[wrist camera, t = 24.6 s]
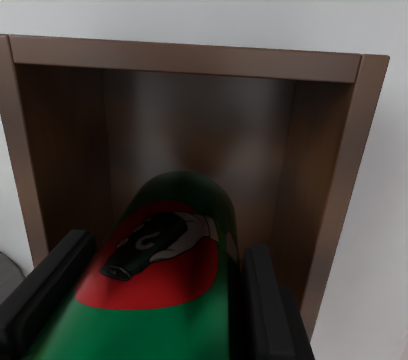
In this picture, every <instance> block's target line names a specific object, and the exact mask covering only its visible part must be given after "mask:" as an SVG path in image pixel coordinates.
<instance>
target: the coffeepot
mask: <svg viewBox="0 0 408 360" xmlns="http://www.w3.org/2000/svg"><path fill="white" fill-rule="evenodd" d="M23 280H24V276H23V275H22V273H21V272H20V270H19V268H18V267H17V266H16V265H15V264H14V263H13V262H12V261H11V260H10V259H9V258H7V257H6V256H5V255H4V254H2V253H1V252H0V305H1V304H2V303H3V302H4V300H5V299H6V298H7V297H8V296H9V295H10V294H11V293H12V292H13V291H14V290H15V289H16V288H17V287H18V286H19V285H20V284H21V283H22V281H23Z"/></svg>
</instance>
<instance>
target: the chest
mask: <svg viewBox="0 0 408 360" xmlns="http://www.w3.org/2000/svg"><path fill="white" fill-rule="evenodd" d="M389 60H390V56H388V55H374V54H357V53H338V52H320V51H302V50H284V49H266V48H248V47H230V46H212V45H194V44H176V43H157V42H139V41H121V40H103V39H85V38H67V37H49V36H31V35H13V34H11V35H9V34H0V114H1V119H2V124H3V128H4V133H5V137H6V142H7V146H8V151H9V155H10V160H11V165H12V169H13V174H14V178H15V183H16V187H17V192H18V197H19V201H20V206H21V210H22V215H23V219H24V224H25V228H26V233H27V238H28V242H29V247H30V251H31V256H32V260H33V265H34V269H35V268H36V267H37V266H38V265H39V263H40V262H41V261H42V260H43V259H44V258H45V257H46V256H47V255H48V254H49V253H50V252H51V251H52V250H53V249H54V248H55V247H56V245H57V244H58V243H59V242H60V241H61V240H62V239H63V238H64V237H65V236H66V235H67V234H68V233H69V232H70V231H71V230H73V229H76V230H89V231H90V232H91V235H94V236H95V237H96V245H97V249H98V248H99V247H100V245H101V244H102V242H103V241H104V239H105V238H106V236H107V235H108V234H109V232H110V231H111V229H112V228H113V226H114V225H115V224H116V222H117V221H118V219H119V218H120V216H121V215H122V213H123V212H124V211H125V209H126V208H127V206H128V205H129V203H130V202H131V200H132V199H133V198H134V196H135V195H136V193H137V192H138V191H139V189H140V188H141V187H142V186H143V185H144V184H145V183H146V182H147V181H149V180H150V179H152V178H153V177H155V176H158V175H160V174H163V173H167V172H171V171H189V172H194V173H198V174H201V175H203V176H206V177H207V178H209V179H211V180H213V181H214V182H216V183H217V184H218V185H219V186H220V187H221V188H222V189H223V190H224V191H225V192H226V193H227V195H228V196H229V198H230V199H231V202H232V204H233V206H234V210H235V214H236V225H237V236H238V247H239V258H240V269H241V271H242V264H243V256H244V249H245V248H250V246H251V244H260V245H267V246H268V248H269V252H270V256H271V260H272V264H273V268H274V272H275V276H276V280H277V284H278V286H288V287H291V288H292V290H293V292H294V295H295V298H296V302H297V305H298V308H299V311H300V314H301V317H302V320H303V324H304V327H305V330H306V333H307V336H308V339H309V342H310V341H311V337H312V334H313V330H314V327H315V323H316V320H317V316H318V313H319V309H320V305H321V302H322V298H323V295H324V291H325V288H326V284H327V281H328V277H329V273H330V270H331V266H332V263H333V259H334V256H335V252H336V248H337V245H338V241H339V238H340V234H341V231H342V227H343V224H344V220H345V216H346V213H347V209H348V206H349V202H350V199H351V195H352V191H353V188H354V184H355V181H356V177H357V174H358V170H359V167H360V163H361V159H362V156H363V152H364V149H365V145H366V142H367V138H368V135H369V131H370V127H371V124H372V120H373V117H374V113H375V110H376V106H377V102H378V99H379V95H380V92H381V88H382V85H383V81H384V78H385V74H386V70H387V67H388V63H389Z"/></svg>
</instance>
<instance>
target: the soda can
mask: <svg viewBox="0 0 408 360" xmlns="http://www.w3.org/2000/svg"><path fill="white" fill-rule="evenodd" d="M21 360H249V357H248V346H247V335H246V324H245V313H244V302H243V291H242V280H241V269H240V258H239V247H238V236H237V225H236V214H235V210H234V206H233V204H232V202H231V199H230V198H229V196H228V195H227V193H226V192H225V191H224V190H223V189H222V188H221V187H220V186H219V185H218V184H217V183H216V182H214V181H213V180H211V179H209V178H207V177H206V176H203V175H201V174H198V173H194V172H189V171H171V172H167V173H163V174H160V175H158V176H155V177H153V178H152V179H150V180H149V181H147V182H146V183H145V184H144V185H143V186H142V187H141V188H140V189H139V191H138V192H137V193H136V195H135V196H134V198H133V199H132V200H131V202H130V203H129V205H128V206H127V208H126V209H125V211H124V212H123V213H122V215H121V216H120V218H119V219H118V221H117V222H116V224H115V225H114V226H113V228H112V229H111V231H110V232H109V234H108V235H107V236H106V238H105V239H104V241H103V242H102V244H101V245H100V247H99V248H98V249H97V251H96V252H95V254H94V255H93V257H92V258H91V259H90V261H89V262H88V264H87V265H86V267H85V268H84V270H83V271H82V272H81V274H80V275H79V277H78V278H77V280H76V281H75V283H74V284H73V285H72V287H71V288H70V290H69V291H68V293H67V294H66V295H65V297H64V298H63V300H62V301H61V303H60V304H59V306H58V307H57V308H56V310H55V311H54V313H53V314H52V316H51V317H50V318H49V320H48V321H47V323H46V324H45V326H44V327H43V329H42V330H41V331H40V333H39V334H38V336H37V337H36V339H35V340H34V341H33V343H32V344H31V346H30V347H29V349H28V350H27V352H26V353H25V354H24V356H23V357H22V359H21Z"/></svg>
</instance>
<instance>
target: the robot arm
mask: <svg viewBox="0 0 408 360" xmlns="http://www.w3.org/2000/svg"><path fill="white" fill-rule="evenodd" d="M96 251H97V245H96V237H95V236H94V235H91V232H90V231H89V230H76V229H73V230H71V231H70V232H69V233H68V234H67V235H66V236H65V237H64V238H63V239H62V240H61V241H60V242H59V243H58V244H57V245H56V247H55V248H54V249H53V250H52V251H51V252H50V253H49V254H48V255H47V256H46V257H45V258H44V259H43V260H42V261H41V262H40V263H39V265H38V266H37V267H36V268H35V269H34V270H33V271H32V272H31V273H30V274H29V275H28V276H27V277H26V278H25V279H24V280H23V281H22V283H21V284H20V285H19V286H18V287H17V288H16V289H15V290H14V291H13V292H12V293H11V294H10V295H9V296H8V297H7V298H6V299H5V300H4V302H3V303H2V304H1V305H0V360H21V359H22V357H23V356H24V354H25V353H26V352H27V350H28V349H29V347H30V346H31V344H32V343H33V341H34V340H35V339H36V337H37V336H38V334H39V333H40V331H41V330H42V329H43V327H44V326H45V324H46V323H47V321H48V320H49V318H50V317H51V316H52V314H53V313H54V311H55V310H56V308H57V307H58V306H59V304H60V303H61V301H62V300H63V298H64V297H65V295H66V294H67V293H68V291H69V290H70V288H71V287H72V285H73V284H74V283H75V281H76V280H77V278H78V277H79V275H80V274H81V272H82V271H83V270H84V268H85V267H86V265H87V264H88V262H89V261H90V259H91V258H92V257H93V255H94V254H95V252H96ZM241 280H242V291H243V302H244V313H245V324H246V335H247V346H248V357H249V360H315V358H314V355H313V352H312V349H311V346H310V342H309V339H308V336H307V333H306V330H305V327H304V324H303V320H302V317H301V314H300V311H299V308H298V305H297V302H296V298H295V295H294V292H293V290H292V288H291V287H288V286H278V284H277V280H276V276H275V272H274V268H273V264H272V260H271V256H270V252H269V248H268V246H267V245H260V244H251V246H250V248H245V249H244V256H243V264H242V271H241Z"/></svg>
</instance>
